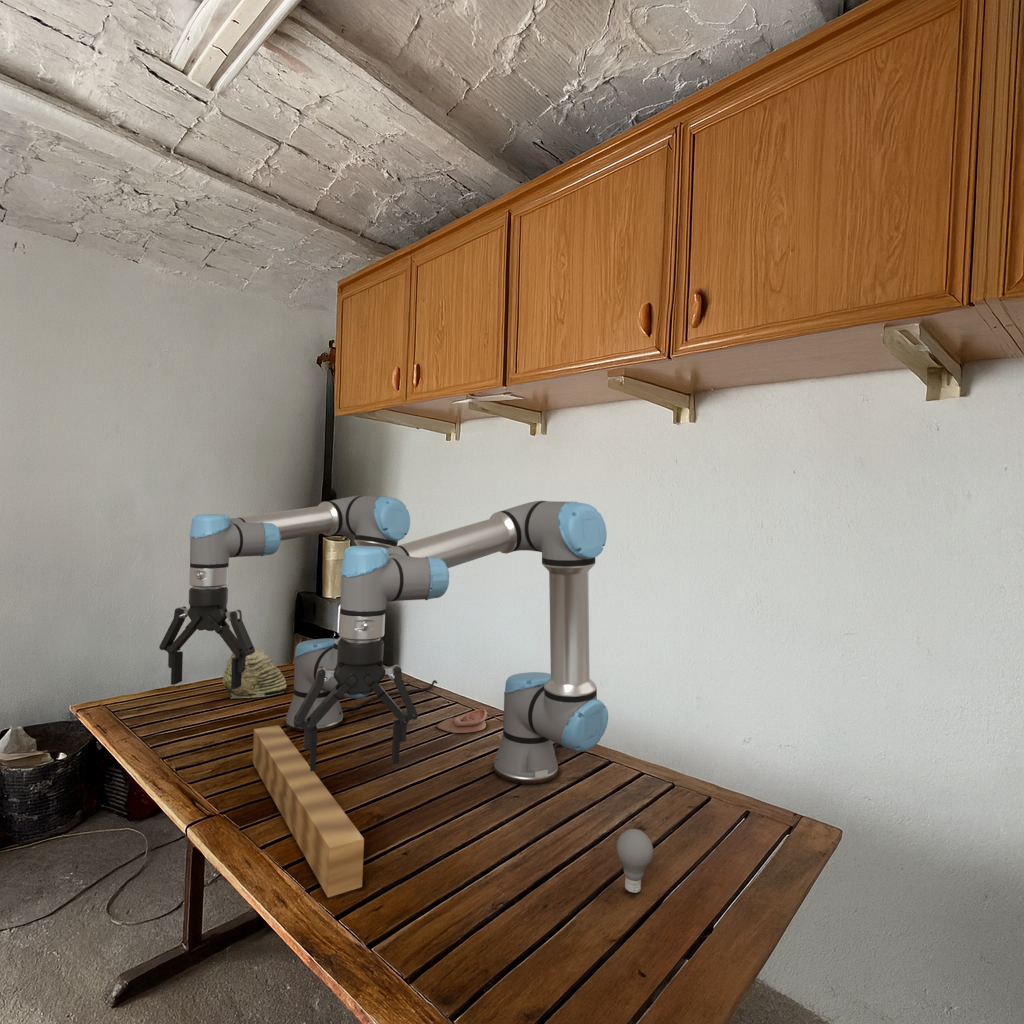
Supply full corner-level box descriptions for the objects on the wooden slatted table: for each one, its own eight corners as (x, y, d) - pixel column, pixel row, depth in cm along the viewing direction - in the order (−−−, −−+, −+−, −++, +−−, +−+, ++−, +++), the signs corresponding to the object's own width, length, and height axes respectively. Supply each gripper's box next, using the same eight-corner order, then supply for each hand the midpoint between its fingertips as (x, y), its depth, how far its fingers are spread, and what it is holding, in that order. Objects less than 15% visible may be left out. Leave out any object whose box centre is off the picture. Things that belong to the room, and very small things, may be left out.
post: (252, 762, 149) (253, 728, 149) (277, 758, 152) (278, 725, 152) (327, 897, 101) (329, 847, 100) (362, 887, 104) (364, 838, 104)
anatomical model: (433, 716, 174) (446, 703, 185) (433, 730, 174) (445, 716, 185) (480, 721, 171) (490, 708, 182) (479, 736, 171) (489, 722, 183)
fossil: (218, 695, 195) (220, 647, 195) (278, 685, 208) (279, 640, 207) (228, 703, 189) (230, 653, 188) (289, 692, 201) (290, 645, 201)
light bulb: (610, 879, 108) (613, 822, 108) (644, 879, 109) (647, 822, 109) (619, 902, 102) (622, 840, 102) (655, 901, 103) (658, 840, 103)
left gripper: (142, 585, 133) (140, 686, 133) (255, 592, 130) (252, 694, 131) (165, 581, 140) (163, 676, 141) (272, 587, 138) (270, 684, 138)
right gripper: (282, 645, 98) (275, 780, 99) (439, 641, 107) (432, 766, 107) (282, 635, 105) (275, 761, 106) (429, 632, 114) (422, 749, 114)
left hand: (206, 685), depth 136 cm, fingers open, 13 cm apart
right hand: (354, 764), depth 107 cm, fingers open, 13 cm apart
